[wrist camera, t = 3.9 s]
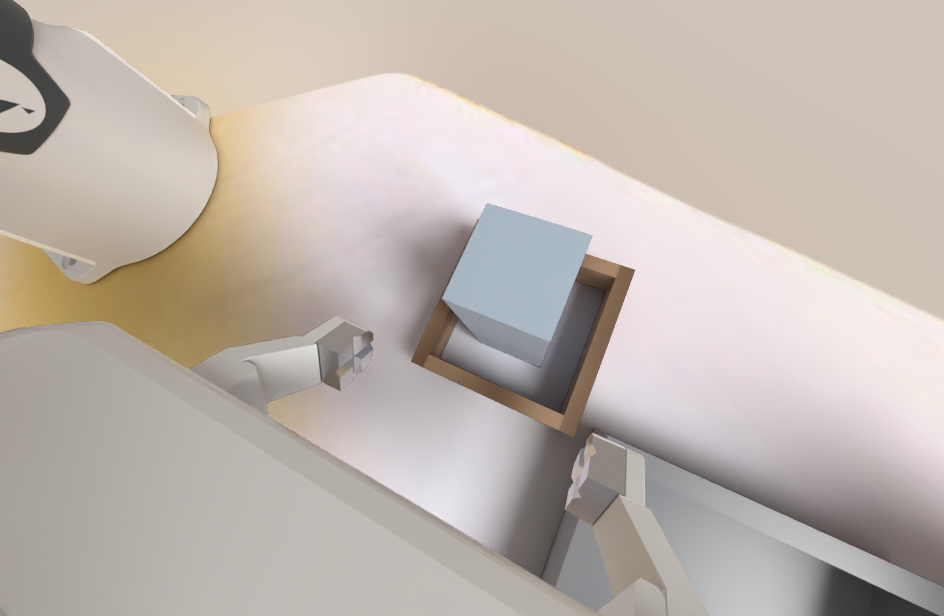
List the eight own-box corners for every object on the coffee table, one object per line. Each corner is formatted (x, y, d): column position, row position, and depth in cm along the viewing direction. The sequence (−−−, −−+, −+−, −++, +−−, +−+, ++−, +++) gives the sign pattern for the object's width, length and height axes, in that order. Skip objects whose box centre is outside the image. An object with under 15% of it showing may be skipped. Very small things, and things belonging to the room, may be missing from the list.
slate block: (480, 342, 21) (442, 298, 12) (504, 287, 22) (486, 202, 12) (539, 367, 20) (550, 341, 11) (563, 308, 21) (592, 235, 11)
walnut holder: (423, 365, 21) (410, 361, 19) (483, 237, 23) (477, 219, 21) (568, 432, 19) (574, 437, 17) (622, 284, 21) (635, 269, 18)
